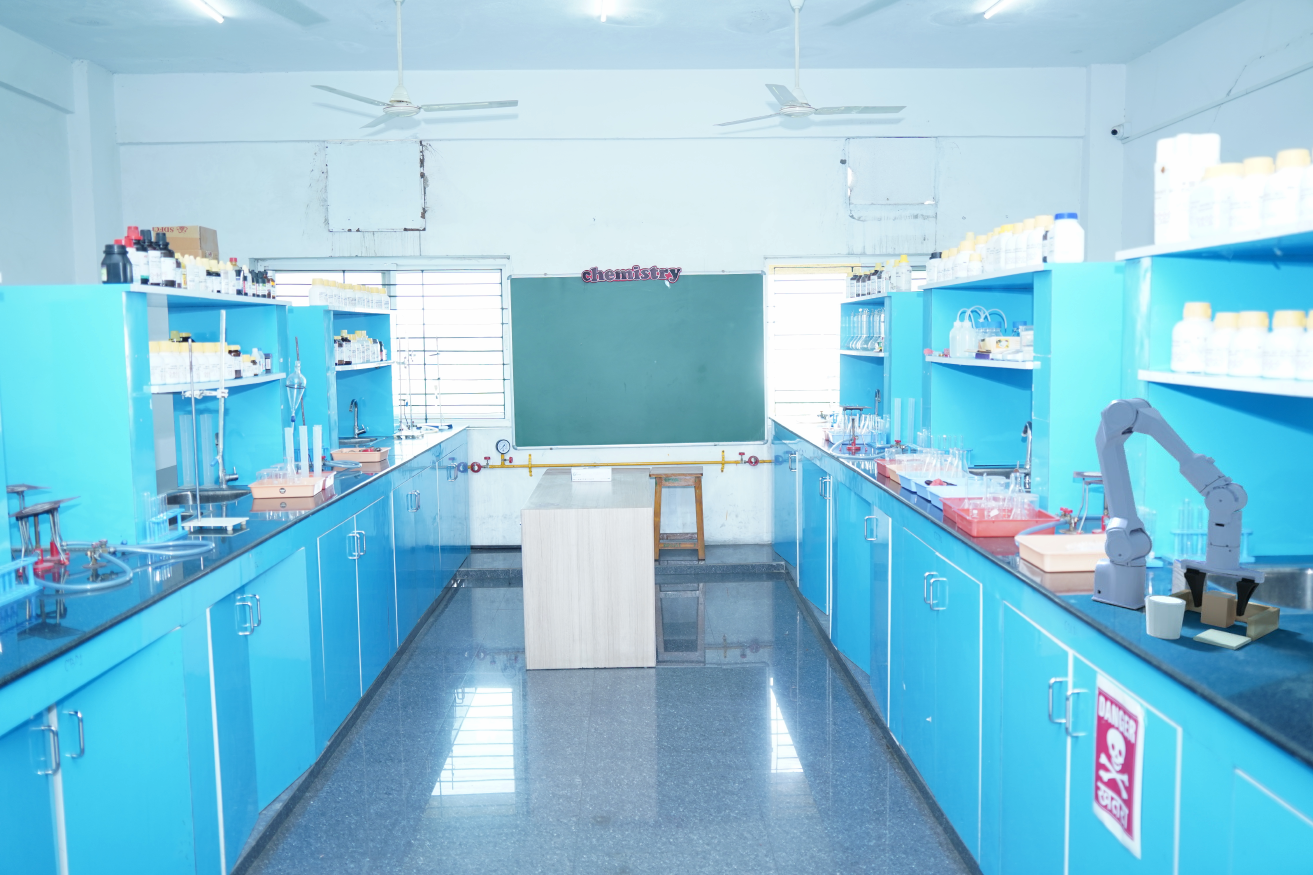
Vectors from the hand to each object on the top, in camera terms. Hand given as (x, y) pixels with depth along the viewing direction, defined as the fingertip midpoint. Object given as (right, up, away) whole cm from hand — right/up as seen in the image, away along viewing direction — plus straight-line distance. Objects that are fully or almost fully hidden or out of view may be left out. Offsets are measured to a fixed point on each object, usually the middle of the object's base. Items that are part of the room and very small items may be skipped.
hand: (1218, 610), depth 183 cm
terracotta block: (0, -3, 0) cm, 3 cm away
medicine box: (+3, -1, +15) cm, 16 cm away
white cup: (-15, -3, -7) cm, 17 cm away
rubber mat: (-6, -4, -11) cm, 13 cm away
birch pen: (0, -3, 0) cm, 3 cm away
